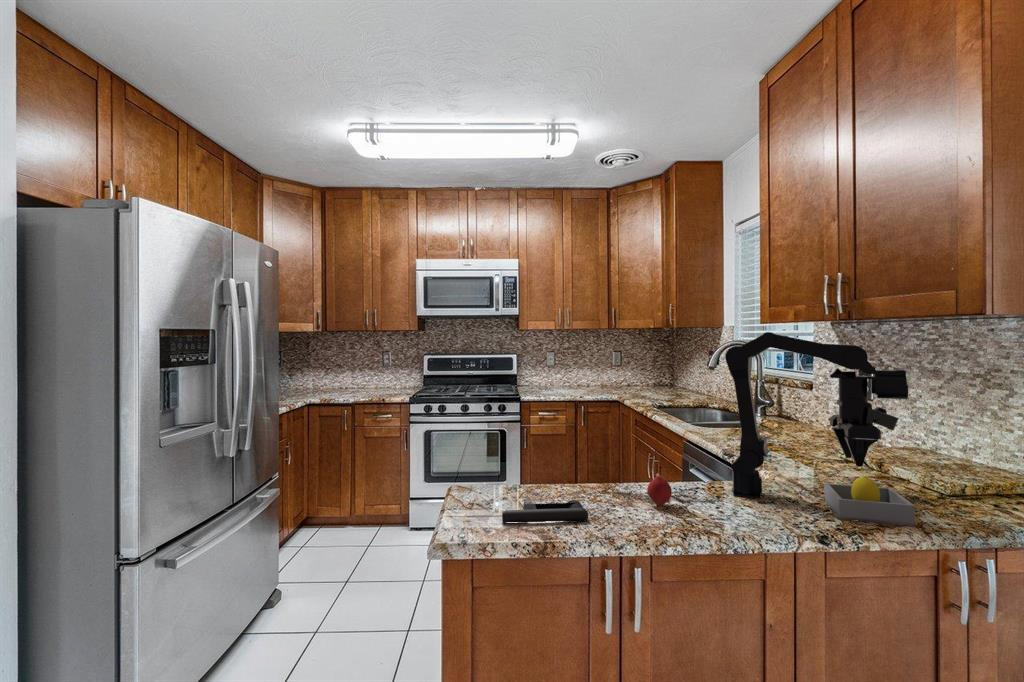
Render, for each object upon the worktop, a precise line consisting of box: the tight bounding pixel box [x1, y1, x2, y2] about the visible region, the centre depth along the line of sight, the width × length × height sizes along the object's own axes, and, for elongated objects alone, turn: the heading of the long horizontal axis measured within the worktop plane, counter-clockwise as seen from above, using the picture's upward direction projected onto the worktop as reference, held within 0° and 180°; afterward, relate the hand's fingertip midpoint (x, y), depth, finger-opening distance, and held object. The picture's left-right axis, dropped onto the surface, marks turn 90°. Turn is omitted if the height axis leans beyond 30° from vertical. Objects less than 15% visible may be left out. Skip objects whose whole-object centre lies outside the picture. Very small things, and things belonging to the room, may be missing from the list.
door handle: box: [501, 498, 589, 522], centre depth 119 cm, size 3×20×16 cm
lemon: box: [851, 475, 880, 502], centre depth 116 cm, size 6×6×8 cm
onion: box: [646, 473, 673, 507], centre depth 123 cm, size 6×6×8 cm
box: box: [823, 482, 916, 527], centre depth 116 cm, size 14×14×4 cm
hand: (853, 462), depth 118 cm, fingers open, 9 cm apart
